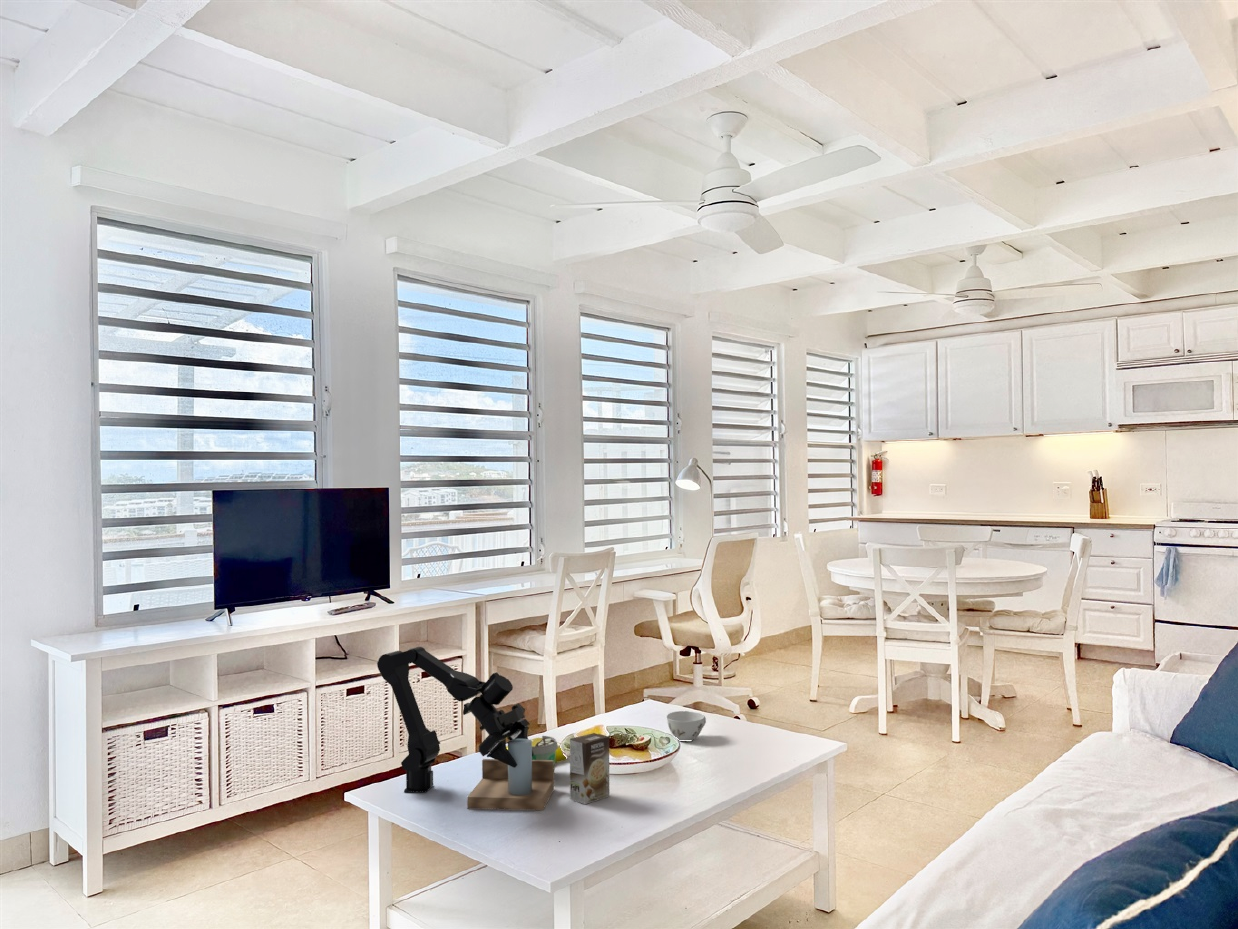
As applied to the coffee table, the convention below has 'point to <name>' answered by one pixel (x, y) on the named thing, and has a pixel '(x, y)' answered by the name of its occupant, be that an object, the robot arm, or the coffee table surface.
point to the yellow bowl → (558, 753)
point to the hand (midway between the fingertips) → (524, 761)
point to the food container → (545, 749)
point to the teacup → (685, 724)
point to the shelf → (495, 787)
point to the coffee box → (589, 768)
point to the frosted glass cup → (520, 767)
